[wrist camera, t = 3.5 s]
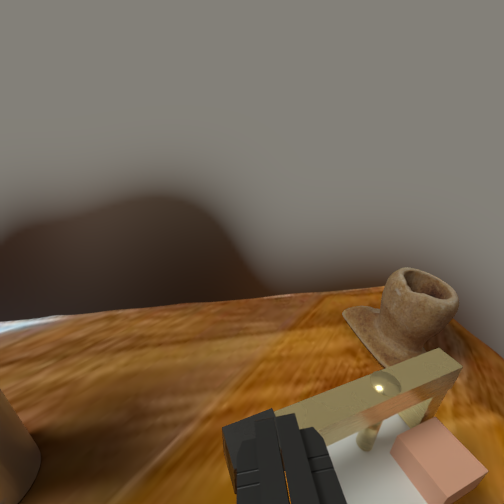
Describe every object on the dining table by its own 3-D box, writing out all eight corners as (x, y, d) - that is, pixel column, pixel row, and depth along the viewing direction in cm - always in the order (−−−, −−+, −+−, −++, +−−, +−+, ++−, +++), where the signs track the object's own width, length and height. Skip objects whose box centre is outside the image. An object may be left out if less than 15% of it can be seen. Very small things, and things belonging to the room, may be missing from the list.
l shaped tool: (411, 403, 31) (437, 344, 27) (433, 426, 29) (466, 367, 25) (226, 488, 24) (221, 427, 20) (236, 528, 22) (233, 469, 18)
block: (425, 433, 29) (435, 416, 27) (474, 488, 25) (488, 471, 23) (389, 452, 27) (397, 435, 26) (435, 514, 23) (447, 497, 22)
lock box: (356, 416, 38) (368, 378, 35) (434, 523, 29) (462, 486, 25) (279, 450, 35) (283, 412, 31) (338, 588, 25) (355, 556, 21)
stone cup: (449, 371, 45) (487, 298, 38) (386, 385, 43) (413, 310, 36) (390, 312, 58) (409, 249, 51) (339, 320, 56) (352, 255, 49)
